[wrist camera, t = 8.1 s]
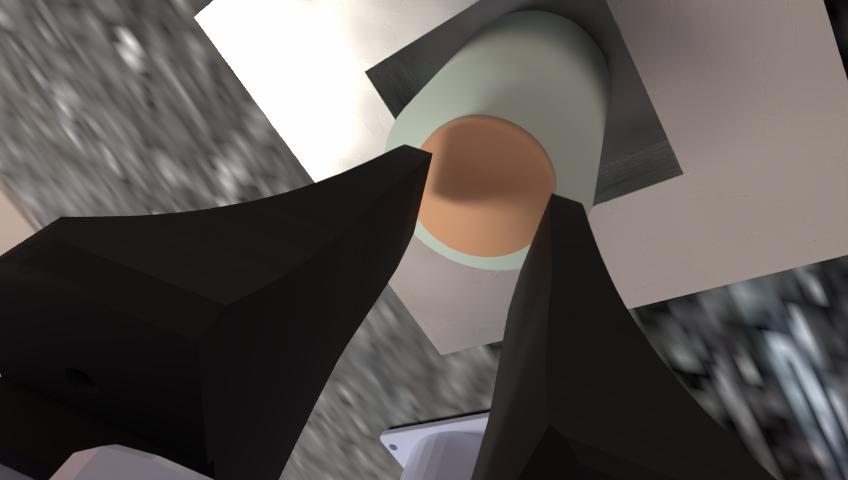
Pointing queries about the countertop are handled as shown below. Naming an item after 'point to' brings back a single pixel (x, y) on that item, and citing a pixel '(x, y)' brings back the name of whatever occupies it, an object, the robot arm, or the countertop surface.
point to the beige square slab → (622, 143)
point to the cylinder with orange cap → (507, 136)
